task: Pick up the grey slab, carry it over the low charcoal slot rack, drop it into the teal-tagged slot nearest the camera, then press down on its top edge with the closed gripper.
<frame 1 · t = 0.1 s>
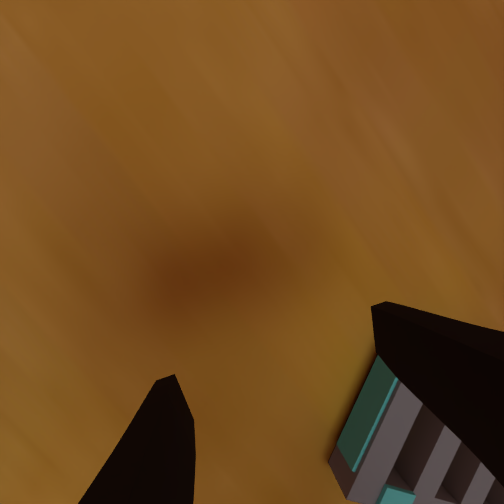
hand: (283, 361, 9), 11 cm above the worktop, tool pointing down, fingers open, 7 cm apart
slot rack: (440, 419, 23), on the worktop
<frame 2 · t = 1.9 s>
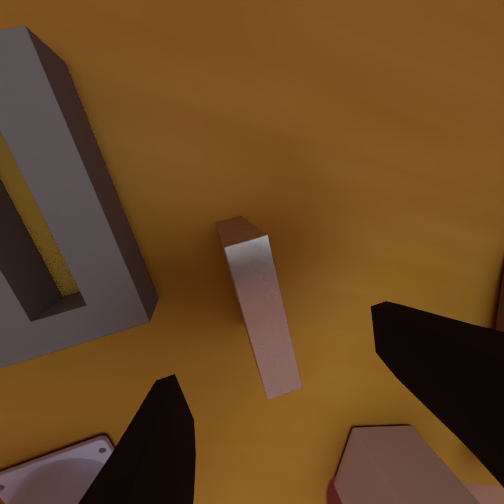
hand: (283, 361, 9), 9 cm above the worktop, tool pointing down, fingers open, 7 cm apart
milk carton: (370, 450, 26), on the worktop
grey slab: (242, 273, 18), on the worktop
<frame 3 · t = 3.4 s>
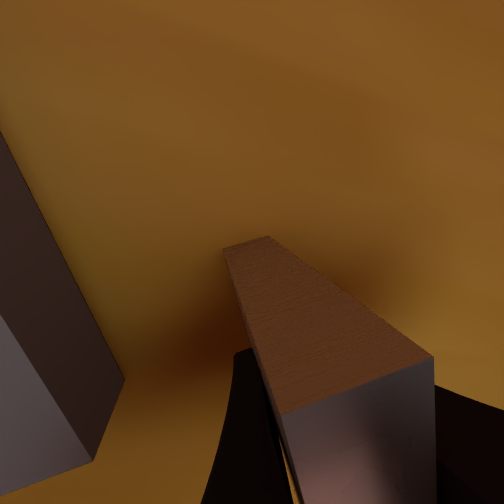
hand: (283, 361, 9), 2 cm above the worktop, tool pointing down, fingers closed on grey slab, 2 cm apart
grey slab: (268, 331, 10), on the worktop, touching gripper
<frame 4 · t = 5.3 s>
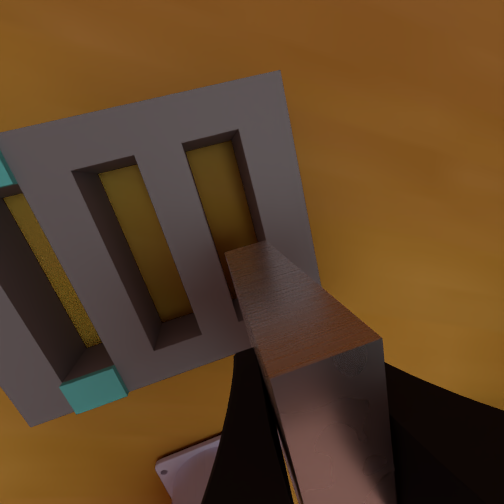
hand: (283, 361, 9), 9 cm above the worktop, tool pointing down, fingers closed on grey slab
slot rack: (155, 249, 15), on the worktop
grey slab: (265, 326, 11), point 6 cm above the worktop, touching gripper
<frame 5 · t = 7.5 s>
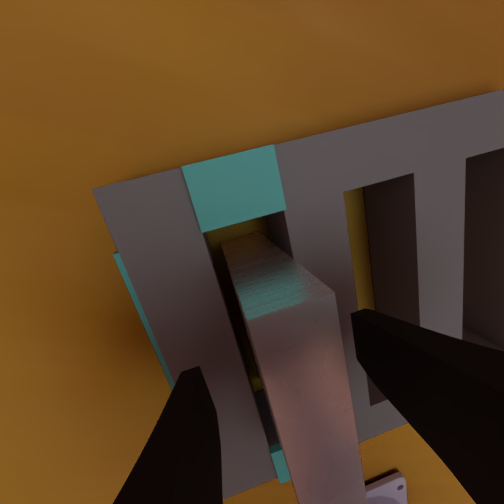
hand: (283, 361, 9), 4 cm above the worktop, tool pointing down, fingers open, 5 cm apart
slot rack: (348, 278, 13), on the worktop
grey slab: (258, 310, 13), resting in slot rack
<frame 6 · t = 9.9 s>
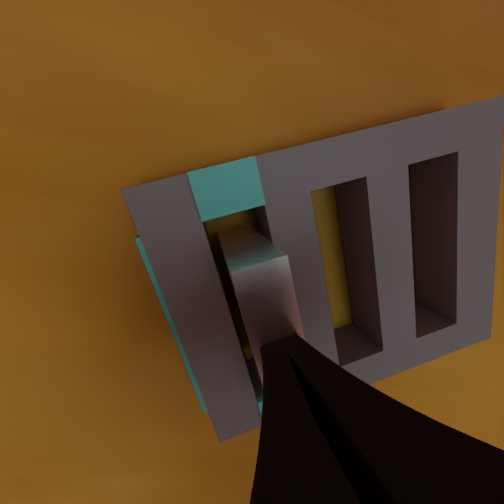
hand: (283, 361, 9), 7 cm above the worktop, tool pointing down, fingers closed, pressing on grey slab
slot rack: (324, 264, 16), on the worktop
grey slab: (248, 289, 15), resting in slot rack, touching gripper
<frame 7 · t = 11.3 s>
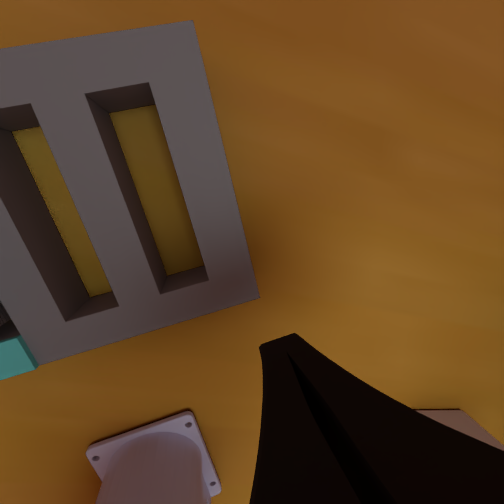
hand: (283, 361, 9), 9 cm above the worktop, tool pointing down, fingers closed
slot rack: (79, 217, 15), on the worktop
milk carton: (421, 434, 27), on the worktop
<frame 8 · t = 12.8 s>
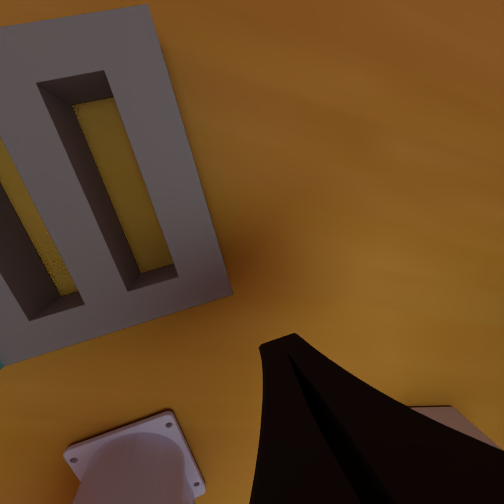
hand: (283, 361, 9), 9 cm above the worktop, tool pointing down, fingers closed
slot rack: (45, 213, 14), on the worktop
milk carton: (412, 431, 26), on the worktop
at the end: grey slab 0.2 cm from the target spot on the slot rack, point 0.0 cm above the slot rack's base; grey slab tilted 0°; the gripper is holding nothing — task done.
